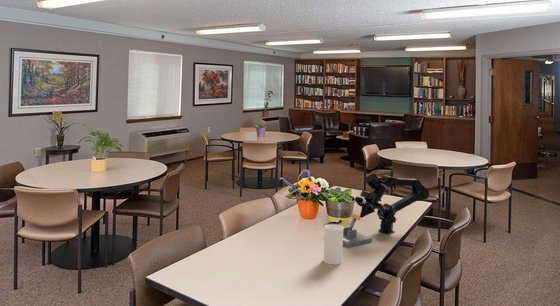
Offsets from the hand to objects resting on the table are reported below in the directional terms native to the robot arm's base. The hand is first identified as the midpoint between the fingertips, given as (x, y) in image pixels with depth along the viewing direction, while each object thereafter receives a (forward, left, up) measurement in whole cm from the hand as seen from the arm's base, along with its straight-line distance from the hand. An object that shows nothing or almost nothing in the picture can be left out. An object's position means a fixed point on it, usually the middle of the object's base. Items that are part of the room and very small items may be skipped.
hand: (360, 217), depth 227 cm
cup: (+34, +19, -11) cm, 40 cm away
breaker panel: (+8, 0, -11) cm, 13 cm away
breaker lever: (+8, 0, -7) cm, 11 cm away
